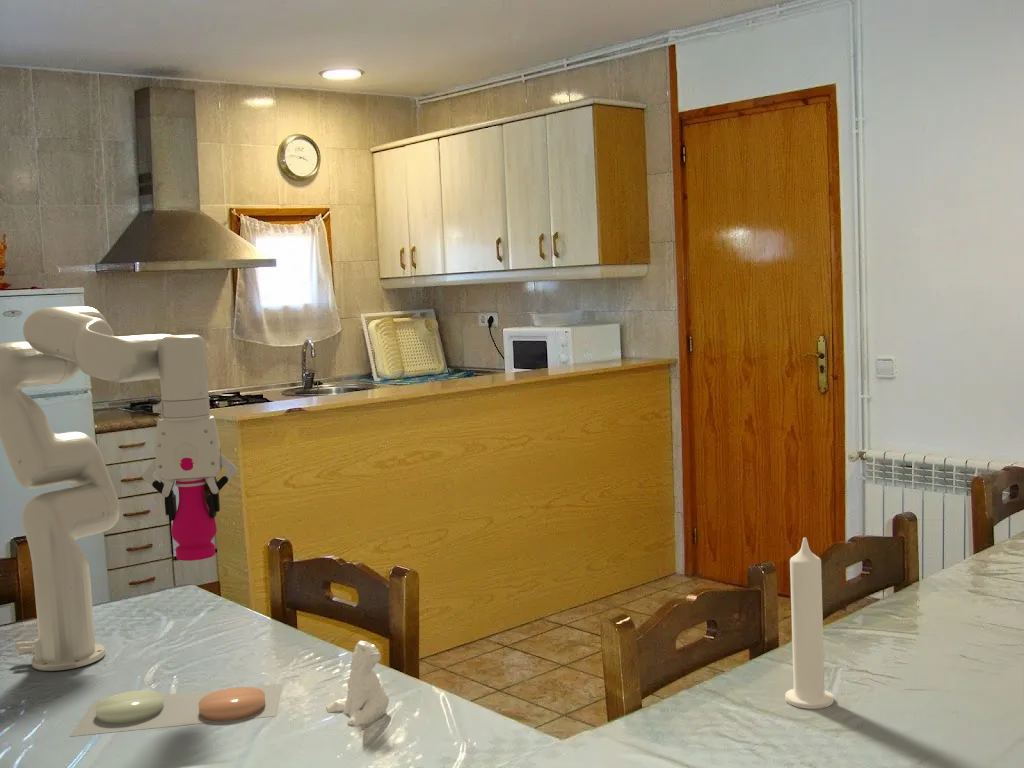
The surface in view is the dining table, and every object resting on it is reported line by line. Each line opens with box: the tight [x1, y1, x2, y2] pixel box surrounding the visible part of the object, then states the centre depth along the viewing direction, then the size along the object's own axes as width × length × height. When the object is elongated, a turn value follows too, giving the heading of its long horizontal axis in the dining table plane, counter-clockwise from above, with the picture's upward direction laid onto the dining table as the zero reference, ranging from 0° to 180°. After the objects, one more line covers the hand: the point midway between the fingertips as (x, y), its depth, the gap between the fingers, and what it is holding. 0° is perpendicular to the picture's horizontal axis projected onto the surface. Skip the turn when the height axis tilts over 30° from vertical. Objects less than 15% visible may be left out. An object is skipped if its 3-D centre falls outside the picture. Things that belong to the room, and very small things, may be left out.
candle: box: [784, 536, 835, 710], centre depth 159 cm, size 7×7×25 cm
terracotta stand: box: [199, 686, 265, 722], centre depth 165 cm, size 10×10×2 cm
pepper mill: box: [171, 458, 218, 562], centre depth 175 cm, size 7×7×20 cm
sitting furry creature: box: [325, 640, 390, 731], centre depth 161 cm, size 10×9×12 cm
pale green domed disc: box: [95, 689, 164, 724], centre depth 166 cm, size 10×10×2 cm
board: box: [69, 683, 284, 738], centre depth 166 cm, size 30×14×1 cm, turn 98°
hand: (193, 516), depth 176 cm, fingers closed on pepper mill, 5 cm apart
